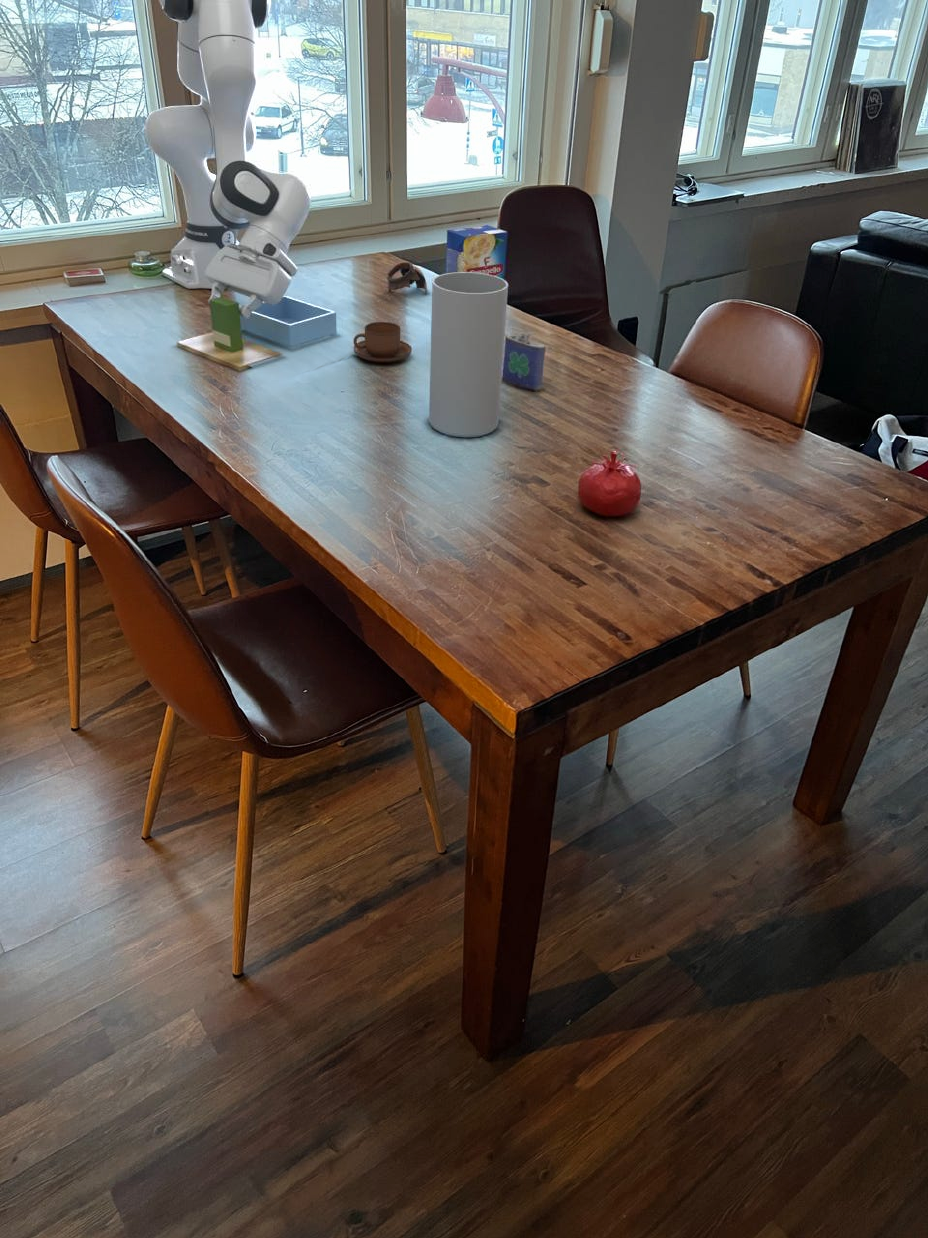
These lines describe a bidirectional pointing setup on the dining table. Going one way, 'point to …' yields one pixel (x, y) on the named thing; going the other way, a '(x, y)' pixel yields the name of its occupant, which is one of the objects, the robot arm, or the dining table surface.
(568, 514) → the dining table surface
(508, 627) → the dining table surface
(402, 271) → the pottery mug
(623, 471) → the pomegranate
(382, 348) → the cup and saucer
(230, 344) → the block
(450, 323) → the cylinder vase
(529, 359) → the flask
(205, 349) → the board
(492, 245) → the blue food box
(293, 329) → the basin
